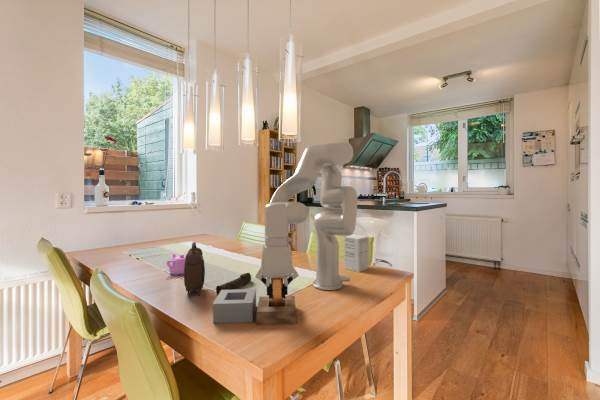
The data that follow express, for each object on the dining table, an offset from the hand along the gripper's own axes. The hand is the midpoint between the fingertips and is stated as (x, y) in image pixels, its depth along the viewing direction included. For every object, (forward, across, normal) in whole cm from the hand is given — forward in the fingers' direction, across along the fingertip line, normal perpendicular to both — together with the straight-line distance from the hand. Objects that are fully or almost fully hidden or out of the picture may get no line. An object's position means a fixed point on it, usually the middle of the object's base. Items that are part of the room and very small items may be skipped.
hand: (277, 296), depth 91 cm
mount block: (+6, 0, 0) cm, 6 cm away
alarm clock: (+6, +33, -23) cm, 41 cm away
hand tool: (+7, +18, -27) cm, 33 cm away
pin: (+6, 0, 0) cm, 6 cm away
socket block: (+6, +14, -2) cm, 15 cm away
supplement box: (+7, -40, -51) cm, 65 cm away
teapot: (+6, +48, -51) cm, 70 cm away
